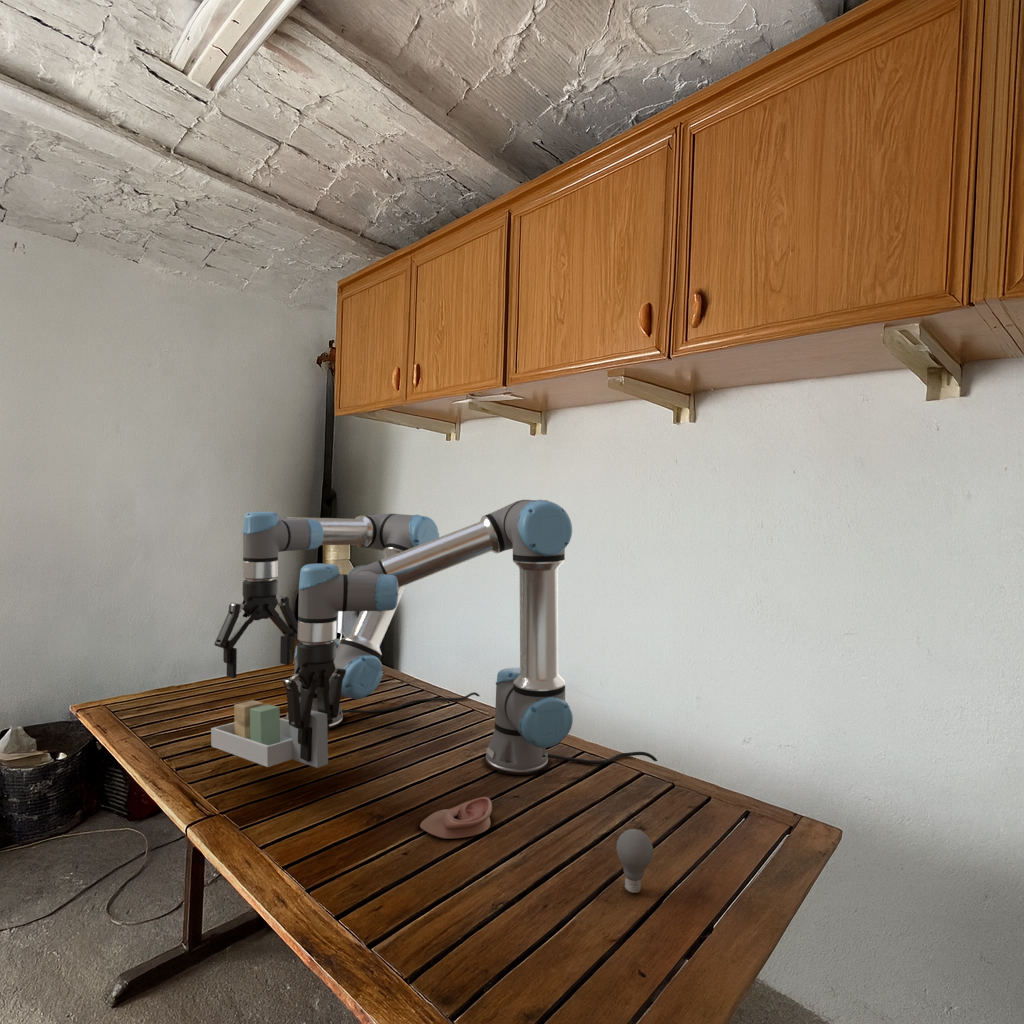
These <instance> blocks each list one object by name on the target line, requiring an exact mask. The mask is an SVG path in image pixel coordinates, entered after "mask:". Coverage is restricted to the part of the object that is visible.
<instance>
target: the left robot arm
mask: <svg viewBox="0 0 1024 1024" xmlns="http://www.w3.org/2000/svg"><path fill="white" fill-rule="evenodd" d="M243 516H244V517H243V524H242V531H241V532H242V557H243V558H242V578H244V580H243V581H242V598H243V600H242V602H241V603H236V602H230V603H229V605H228V612H227V614H226V617H225V619H224V622H223V623H222V626H221V628H220V630H219V632H218V635H217V637H216V639H215V641H214V646H215V647H218V648H221V649H223V653H222V654H223V655H222V656H223V657H222V658H223V660H222V661H223V663H225V664H226V677H229V678H231V679H236V678H237V667H238V666H237V662H238V661H237V660H238V659H237V657H238V656H237V655H238V653H237V652H238V648H236V647H235V646H236V645H237V643H238V641H239V640H240V639H241V637H242V635H244V633H245V631H246V630H247V629H248V627H249V625H251V624H253V622H254V621H260V620H268V619H270V620H271V621H272V622H273V624H274V625H275V626H276V627H277V628H278V630H279V631H280V633H282V634H283V635H281V636H280V649H279V651H280V653H279V655H280V656H279V657H280V658H279V659H280V660H279V661H280V662H279V664H282V665H285V666H290V665H291V650H293V646H294V645H293V644H294V643H293V638H296V636H297V635H296V634H298V620H297V619H296V617H295V614H294V612H293V610H292V608H291V606H290V598H289V597H288V596H285V595H279V596H278V597H277V595H278V593H279V592H278V591H279V590H278V589H279V587H278V586H279V585H278V584H279V580H278V579H277V577H278V576H279V553H282V552H293V551H309V550H315V549H318V548H319V547H321V546H355V547H357V548H358V549H371V550H378V551H382V552H383V554H384V556H385V558H387V557H389V556H392V555H395V554H397V553H400V552H402V551H405V550H408V549H410V548H413V547H416V546H418V545H421V544H423V543H426V542H429V541H431V540H434V539H436V538H439V537H440V533H439V528H438V526H437V524H436V522H435V521H434V520H433V519H432V518H431V517H428V516H427V515H420V514H404V513H403V514H402V513H380V514H372V515H371V514H370V515H358V516H356V517H355V518H342V517H341V518H339V517H336V518H335V517H334V518H333V517H292V516H279V514H278V513H277V512H275V511H274V512H273V511H248V512H246V513H245V514H244V515H243ZM406 587H407V585H405V586H402V587H400V588H398V602H397V606H396V608H395V609H394V610H388V611H381V612H378V611H359V612H360V613H359V614H358V616H357V619H356V621H355V623H354V625H353V627H352V629H351V632H350V634H349V635H347V636H344V637H342V638H341V639H340V640H341V642H340V644H339V640H338V639H339V638H336V639H335V640H334V641H335V643H336V658H335V660H334V663H335V665H336V667H339V668H342V669H345V670H346V674H345V676H344V678H343V681H342V688H341V696H340V697H343V698H345V699H352V700H362V699H365V698H366V697H368V696H369V695H371V694H372V693H374V692H375V691H376V689H377V688H378V687H379V685H380V684H381V681H382V678H383V675H384V671H383V667H384V666H383V664H382V662H381V658H382V656H383V654H382V651H381V647H380V646H381V644H382V642H383V640H384V638H385V635H386V633H387V631H388V628H389V626H390V624H391V621H392V619H393V617H394V615H395V612H396V611H397V608H398V606H399V603H400V601H401V599H402V597H403V594H404V592H405V590H406ZM277 606H278V607H279V609H280V611H281V614H282V615H283V618H284V620H285V621H284V620H283V618H282V617H281V616H280V613H279V612H278V611H277V610H276V607H277ZM242 611H243V613H242ZM240 613H241V615H240ZM238 619H239V620H238ZM237 621H238V622H237ZM294 651H295V652H294V655H293V658H294V672H293V675H295V671H296V669H297V666H298V663H297V645H296V646H295V650H294ZM331 677H332V676H331ZM331 677H330V679H329V683H330V681H331ZM298 683H299V686H298V690H299V699H300V698H301V691H300V688H301V682H300V681H298ZM471 696H476V697H481V696H480V694H479V693H478V692H470V693H468V694H466V695H465V696H462V697H429V698H419V699H414V700H410V701H407V702H404V703H402V704H399V705H396V706H393V707H388V708H381V709H371V710H364V709H363V710H361V709H342V706H341V703H340V704H339V712H338V716H337V717H336V718H332V720H333V722H332V723H331V724H329V730H332V729H335V728H337V727H339V726H340V725H342V723H343V722H344V714H343V713H347V714H349V713H351V714H352V713H355V714H357V713H358V714H376V713H383V712H389V711H394V710H398V709H400V708H403V707H405V706H408V705H411V704H414V703H421V702H430V701H463V700H466V699H468V698H469V697H471ZM311 710H313V711H317V712H318V702H317V690H316V692H315V694H314V695H313V702H312V709H311ZM285 719H286V720H289V719H288V712H287V713H286V715H285Z"/></svg>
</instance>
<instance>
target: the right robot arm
mask: <svg viewBox="0 0 1024 1024" xmlns="http://www.w3.org/2000/svg"><path fill="white" fill-rule="evenodd" d="M572 523H573V522H572V519H571V518H570V515H569V514H568V512H567V511H566V510H565V508H564V507H562V506H561V505H559V504H558V503H556V502H553V501H550V500H548V499H521V500H516V501H514V502H512V503H509V504H507V505H505V506H504V507H501V508H499V509H497V510H494V511H492V512H490V513H488V514H487V513H486V514H484V515H482V516H481V518H480V520H479V522H476V523H474V524H471V525H468V526H465V527H463V528H460V529H458V530H455V531H452V532H449V533H447V534H444V535H442V536H439V538H436V539H434V540H431V541H429V542H426V543H423V544H421V545H418V546H416V547H413V548H410V549H408V550H405V551H402V552H400V553H397V554H395V555H392V556H389V557H387V558H386V557H384V558H382V559H379V560H377V561H375V562H374V561H373V562H371V563H369V564H362V565H357V566H355V567H353V568H352V569H351V570H350V571H349V572H348V574H346V573H345V574H344V573H340V569H339V565H337V564H333V563H308V564H304V565H303V566H302V567H301V568H300V570H299V580H298V603H297V604H298V605H297V606H298V609H297V611H298V613H297V623H298V633H297V640H298V641H299V642H297V644H296V646H297V663H298V666H297V669H296V671H295V675H294V674H293V675H292V676H291V677H289V678H288V677H285V678H283V680H282V684H283V685H284V688H285V690H286V702H287V703H286V704H287V713H288V719H289V725H290V726H293V727H295V728H297V729H298V744H300V745H301V750H300V758H301V759H303V760H305V761H307V762H309V761H311V753H312V728H310V727H309V723H310V716H311V709H312V702H313V695H314V694H315V692H316V690H317V702H318V712H321V713H325V714H327V733H328V736H329V734H330V729H329V724H331V723H332V722H333V720H332V718H336V717H337V716H338V712H339V704H340V705H341V697H342V696H341V688H342V681H343V678H344V676H345V674H346V670H345V669H342V668H339V667H336V665H335V663H334V660H335V658H336V643H335V641H334V640H335V639H338V638H337V634H338V633H337V631H338V612H361V611H378V612H381V611H388V610H394V609H395V608H396V606H397V602H398V588H400V587H402V586H405V585H406V586H407V585H410V584H412V583H415V582H417V581H420V580H422V579H425V578H427V577H430V576H433V575H435V574H438V573H441V572H443V571H445V570H448V569H451V568H454V567H455V566H458V565H461V564H463V563H466V562H469V561H471V560H473V559H476V558H478V557H481V556H483V555H486V554H488V553H490V552H492V553H494V554H497V555H498V554H500V553H502V552H505V551H510V550H512V563H514V564H515V565H516V567H518V569H519V667H508V668H502V669H501V670H499V671H498V672H497V675H496V682H495V685H496V687H495V709H494V710H495V711H494V730H493V732H492V736H491V738H490V741H489V744H488V746H487V749H486V751H485V764H486V765H487V767H489V768H490V769H491V770H494V771H495V772H498V773H501V774H506V775H511V776H529V775H534V774H537V773H541V772H542V771H544V770H546V769H547V767H548V766H549V765H548V764H549V759H554V760H560V761H567V762H574V763H579V764H586V765H606V764H609V763H612V762H615V760H617V759H620V758H623V757H634V756H644V757H647V758H650V759H651V760H652V761H653V762H658V761H659V760H658V759H657V757H655V756H654V755H653V754H651V753H649V752H646V751H631V752H622V753H617V754H615V755H614V756H612V757H610V758H606V759H601V760H591V759H583V758H577V757H570V756H563V755H557V754H551V753H550V754H549V753H548V751H547V748H552V747H555V746H557V745H559V744H560V743H561V742H562V741H563V740H564V739H566V737H567V736H568V735H569V733H570V731H571V729H572V726H573V720H574V715H573V711H572V709H571V706H570V705H569V704H568V702H567V701H566V680H565V679H564V678H563V677H562V676H561V675H560V674H559V568H560V567H561V566H562V565H563V563H564V562H565V561H566V558H565V555H566V548H567V546H568V545H569V544H570V543H571V539H572V537H573V524H572ZM397 607H398V606H397ZM396 609H397V608H396ZM331 676H332V677H331ZM330 677H331V681H330V683H329V679H330ZM298 681H300V682H301V688H300V691H301V698H300V699H299V690H298V686H299V683H298Z"/></svg>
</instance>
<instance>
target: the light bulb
mask: <svg viewBox="0 0 1024 1024" xmlns="http://www.w3.org/2000/svg"><path fill="white" fill-rule="evenodd" d="M615 849H616V854H617V857H618V859H619V861H620V863H621V865H622V867H623V873H624V874H623V875H624V876H625V878H624V888H625V890H627V891H628V892H630V893H634V894H635V893H639V892H640V891H641V889H642V887H641V886H642V879H643V877H644V875H645V871H646V868H647V867H648V866H649V864H650V863H651V861H652V859H653V855H654V847H653V843H652V841H651V838H649V836H648V835H647V834H646V833H645V832H643V831H642V830H641V829H636V828H629V829H627V830H625V831H623V832H622V833H621V834H620V835H619V837H618V839H617V841H616V847H615Z"/></svg>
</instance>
